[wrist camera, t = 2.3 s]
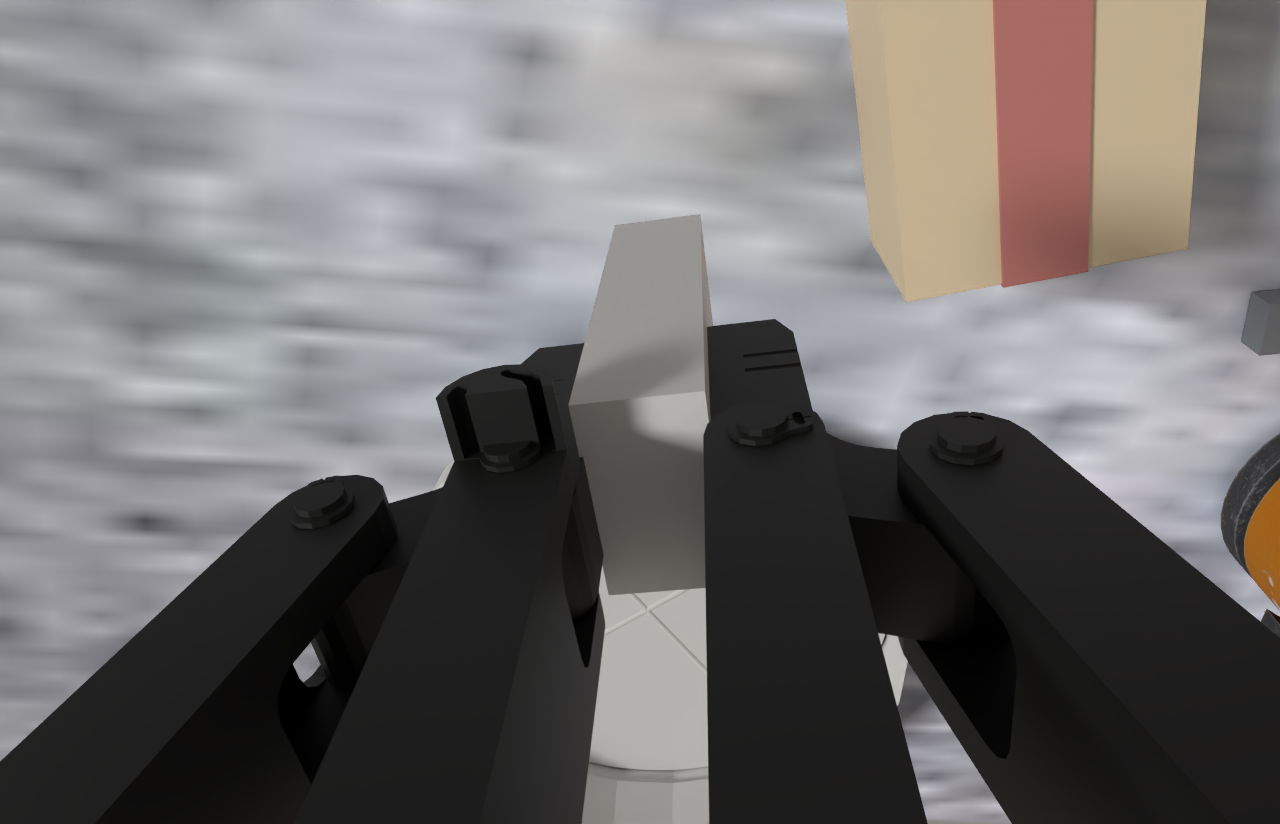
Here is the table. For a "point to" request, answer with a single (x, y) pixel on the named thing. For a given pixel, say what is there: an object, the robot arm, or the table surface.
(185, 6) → the table surface
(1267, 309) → the dark grey flat u-shape
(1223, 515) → the canister
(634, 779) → the dish
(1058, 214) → the carton
